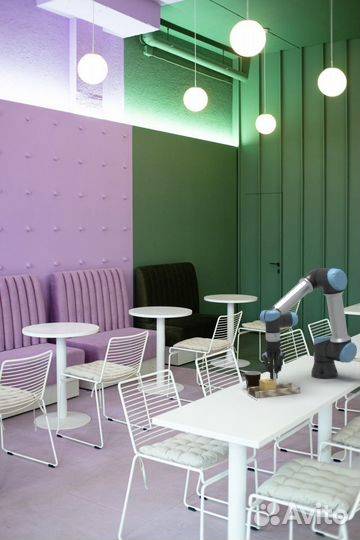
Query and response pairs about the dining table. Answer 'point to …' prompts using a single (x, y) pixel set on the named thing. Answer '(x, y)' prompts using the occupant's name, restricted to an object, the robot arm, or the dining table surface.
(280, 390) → the brown checkered tray
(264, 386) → the mustard block
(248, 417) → the dining table surface
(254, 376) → the coffee mug
